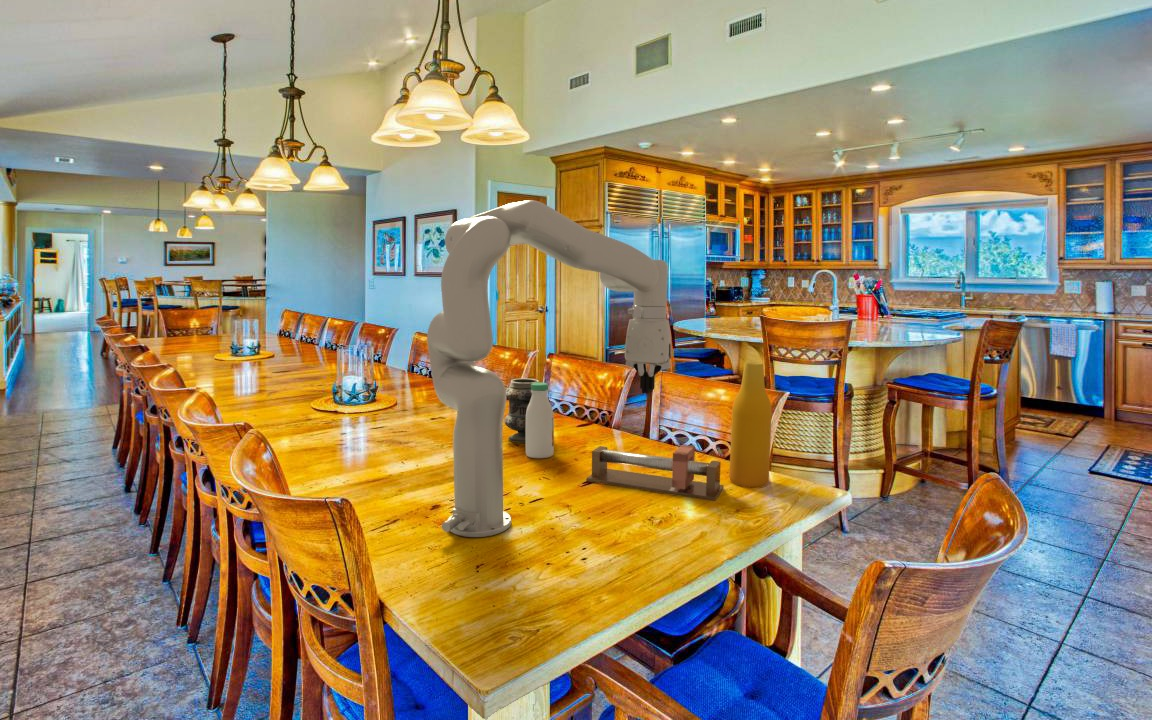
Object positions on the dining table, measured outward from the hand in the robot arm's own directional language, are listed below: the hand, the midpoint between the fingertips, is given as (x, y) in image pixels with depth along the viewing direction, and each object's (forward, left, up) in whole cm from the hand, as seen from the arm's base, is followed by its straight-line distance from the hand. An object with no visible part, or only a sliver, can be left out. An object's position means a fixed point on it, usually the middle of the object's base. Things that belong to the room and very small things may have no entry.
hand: (647, 392), depth 147 cm
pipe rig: (0, -2, -22) cm, 22 cm away
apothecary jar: (+23, +46, -22) cm, 56 cm away
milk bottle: (+10, +34, -22) cm, 42 cm away
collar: (0, -9, -21) cm, 23 cm away
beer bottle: (+12, -22, -22) cm, 34 cm away
